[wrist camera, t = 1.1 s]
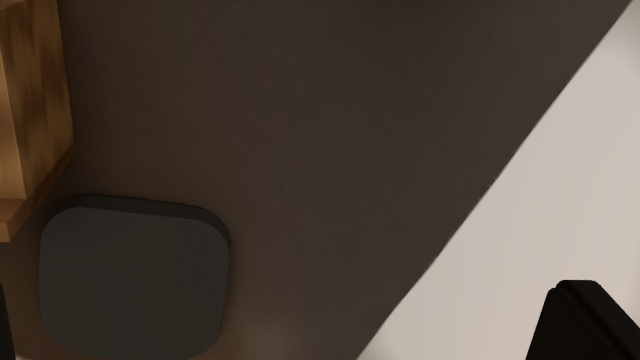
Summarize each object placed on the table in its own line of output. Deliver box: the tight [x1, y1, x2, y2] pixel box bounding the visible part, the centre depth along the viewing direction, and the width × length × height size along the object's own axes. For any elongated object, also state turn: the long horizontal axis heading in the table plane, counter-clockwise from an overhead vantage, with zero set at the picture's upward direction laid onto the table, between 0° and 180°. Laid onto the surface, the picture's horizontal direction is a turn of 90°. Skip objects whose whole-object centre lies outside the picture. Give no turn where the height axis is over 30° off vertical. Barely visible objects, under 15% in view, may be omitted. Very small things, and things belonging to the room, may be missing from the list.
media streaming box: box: [39, 195, 230, 360], centre depth 47 cm, size 15×15×3 cm
